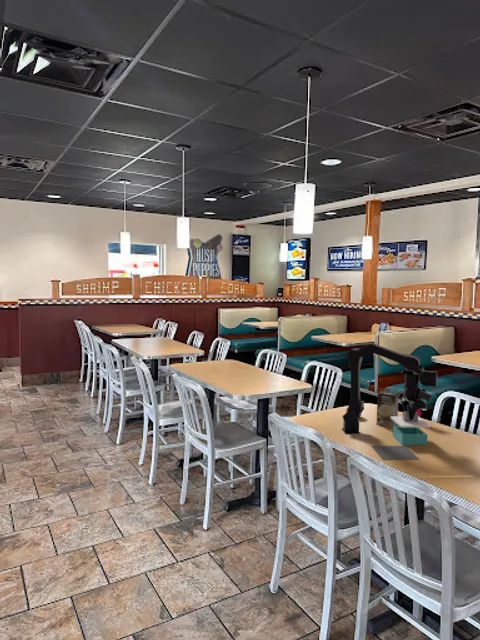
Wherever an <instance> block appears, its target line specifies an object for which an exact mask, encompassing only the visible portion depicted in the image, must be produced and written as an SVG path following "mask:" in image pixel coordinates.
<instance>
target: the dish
mask: <svg viewBox="0 0 480 640" xmlns="http://www.w3.org/2000/svg"><path fill="white" fill-rule="evenodd" d="M392 437H393V438H394V439H395V440H396V441H397V442H398V443H400V445H401V446H417V445H418V446H419V445H420V446H424V445H425V446H427V445H428V433H426V432H425V431H424V430H423V429H421V428H401V427H400V426H399V425H396V426H393V427H392Z"/></svg>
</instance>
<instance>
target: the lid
mask: <svg viewBox="0 0 480 640" xmlns="http://www.w3.org/2000/svg"><path fill="white" fill-rule="evenodd" d="M390 418H391V419H392V420H393V421H394V422H396V423H397V426H400V427H401V428H420V429H421V428H422V429H423V428H432V425H431V424H430V423H428V422H427V421H426V420H424V419H423V418H421V416H420V417H419V416H418V412H416V413H415V415H414V418H413V420H410V418H409V415H408V411H405V410H404V411H402V415H401V416H400V415H399V416H390Z"/></svg>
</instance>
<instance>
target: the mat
mask: <svg viewBox="0 0 480 640" xmlns="http://www.w3.org/2000/svg"><path fill="white" fill-rule="evenodd" d="M371 448H372V449H373V450H374V451H375V452H376V454H377V455H378V456H379V458H380V459H381V460H382V461H415V460H416V461H420V460H421V459H420V458H419V457H418V456H417V455H416V454H415V453H414V452H412V450H411V449H409V447H408V446H407V445H371Z"/></svg>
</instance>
